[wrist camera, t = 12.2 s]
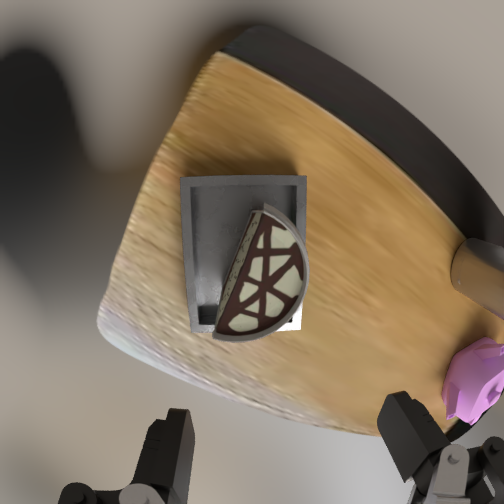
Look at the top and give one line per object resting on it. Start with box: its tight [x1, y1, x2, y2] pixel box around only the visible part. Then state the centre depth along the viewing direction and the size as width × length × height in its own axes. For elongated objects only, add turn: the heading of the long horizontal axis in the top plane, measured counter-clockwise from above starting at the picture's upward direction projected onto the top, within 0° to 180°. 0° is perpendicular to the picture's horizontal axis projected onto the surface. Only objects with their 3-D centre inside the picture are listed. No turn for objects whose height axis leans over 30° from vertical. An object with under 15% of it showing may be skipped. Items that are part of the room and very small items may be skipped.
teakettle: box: [442, 337, 504, 425], centre depth 34 cm, size 17×17×12 cm
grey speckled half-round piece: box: [212, 203, 310, 343], centre depth 26 cm, size 12×6×10 cm, turn 158°
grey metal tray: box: [180, 175, 307, 333], centre depth 30 cm, size 12×17×4 cm
